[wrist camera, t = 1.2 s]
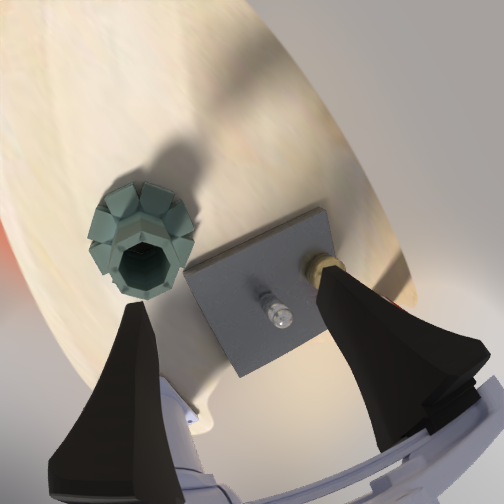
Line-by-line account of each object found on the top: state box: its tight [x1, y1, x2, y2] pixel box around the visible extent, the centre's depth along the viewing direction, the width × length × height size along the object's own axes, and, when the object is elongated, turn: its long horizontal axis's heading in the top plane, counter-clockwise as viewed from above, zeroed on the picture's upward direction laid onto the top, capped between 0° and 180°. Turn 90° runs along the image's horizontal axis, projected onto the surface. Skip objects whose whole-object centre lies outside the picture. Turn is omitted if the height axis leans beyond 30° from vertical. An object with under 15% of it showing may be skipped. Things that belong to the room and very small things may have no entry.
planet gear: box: [87, 182, 195, 300], centre depth 17 cm, size 7×7×6 cm
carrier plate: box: [183, 207, 346, 378], centre depth 24 cm, size 12×12×5 cm
